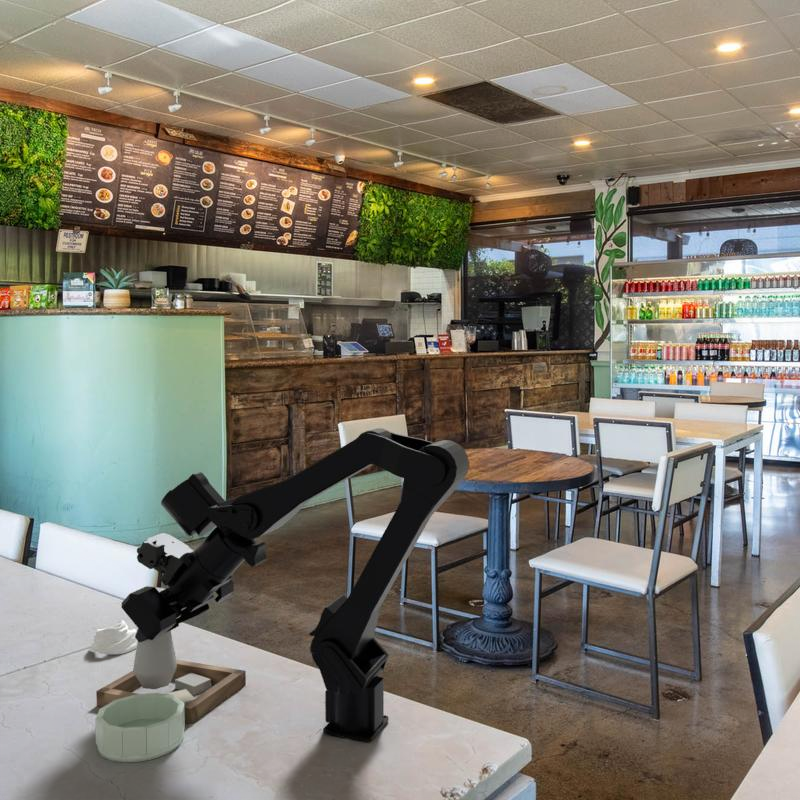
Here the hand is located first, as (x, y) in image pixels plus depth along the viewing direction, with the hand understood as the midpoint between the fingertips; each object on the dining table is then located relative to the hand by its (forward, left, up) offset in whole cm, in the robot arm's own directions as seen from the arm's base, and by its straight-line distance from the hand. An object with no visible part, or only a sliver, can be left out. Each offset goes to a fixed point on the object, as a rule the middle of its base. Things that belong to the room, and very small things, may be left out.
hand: (146, 634), depth 110 cm
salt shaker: (-1, 0, -7) cm, 7 cm away
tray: (-3, -1, -8) cm, 9 cm away
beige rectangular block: (-6, +1, -9) cm, 11 cm away
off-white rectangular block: (-5, -4, -9) cm, 11 cm away
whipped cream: (+16, -12, -9) cm, 22 cm away
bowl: (-8, +11, -8) cm, 16 cm away
